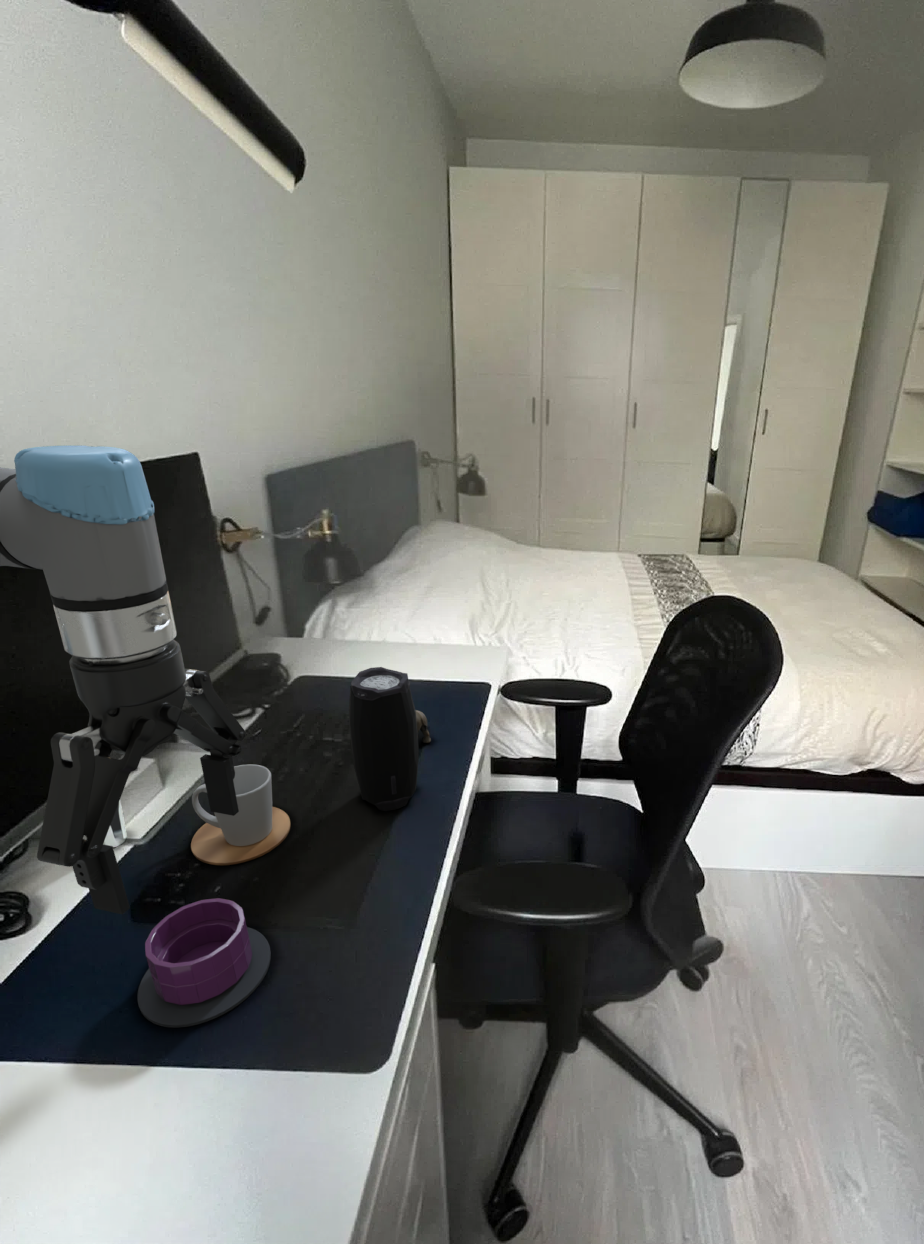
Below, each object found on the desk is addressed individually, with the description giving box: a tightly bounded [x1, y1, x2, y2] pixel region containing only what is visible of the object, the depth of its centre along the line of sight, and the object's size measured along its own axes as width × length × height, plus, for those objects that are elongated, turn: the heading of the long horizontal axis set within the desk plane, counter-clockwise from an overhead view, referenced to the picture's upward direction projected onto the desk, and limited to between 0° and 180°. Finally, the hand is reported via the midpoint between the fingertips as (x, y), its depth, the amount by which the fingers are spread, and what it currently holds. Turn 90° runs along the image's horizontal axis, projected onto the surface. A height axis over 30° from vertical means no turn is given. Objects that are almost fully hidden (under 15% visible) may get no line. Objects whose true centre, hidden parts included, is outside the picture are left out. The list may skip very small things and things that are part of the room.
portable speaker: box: [348, 666, 420, 812], centre depth 90 cm, size 9×9×20 cm
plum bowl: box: [144, 897, 252, 1005], centre depth 64 cm, size 9×9×6 cm
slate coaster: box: [136, 926, 272, 1029], centre depth 65 cm, size 12×12×1 cm
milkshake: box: [103, 798, 128, 848], centre depth 81 cm, size 4×5×10 cm
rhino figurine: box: [415, 709, 432, 744], centre depth 110 cm, size 4×14×6 cm, turn 62°
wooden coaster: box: [190, 806, 291, 866], centre depth 85 cm, size 12×12×1 cm
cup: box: [191, 764, 273, 846], centre depth 83 cm, size 8×10×8 cm
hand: (174, 855), depth 59 cm, fingers open, 13 cm apart
